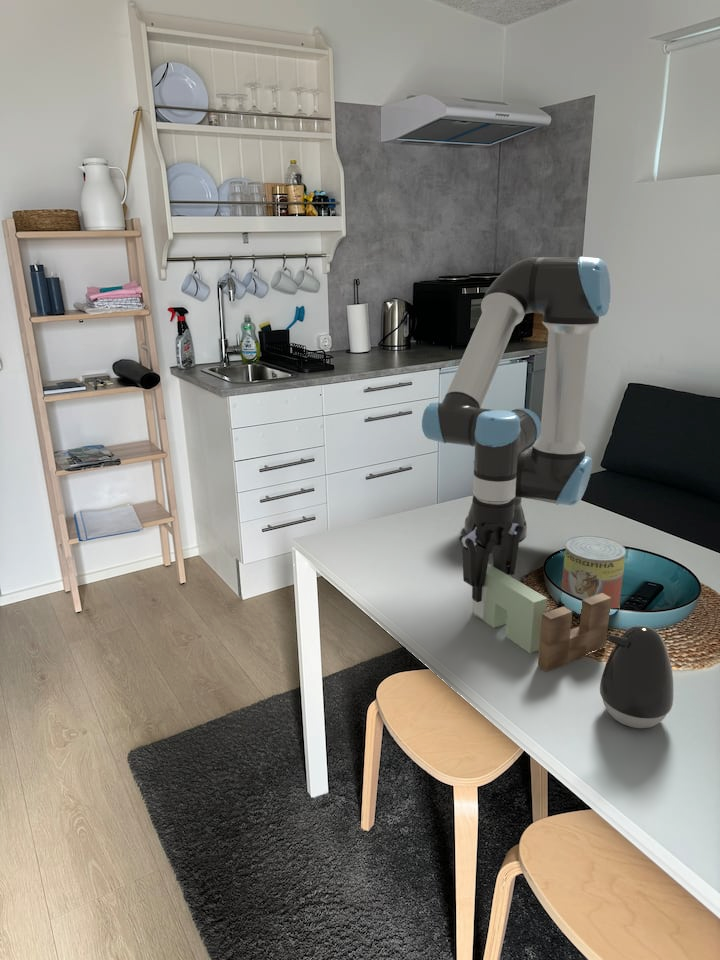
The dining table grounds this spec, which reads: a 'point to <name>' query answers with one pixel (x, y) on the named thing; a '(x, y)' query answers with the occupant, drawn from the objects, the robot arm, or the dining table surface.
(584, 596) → the canned food
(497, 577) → the green arch bridge
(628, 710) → the pump dispenser
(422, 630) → the dining table surface
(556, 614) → the brown u-shaped block
